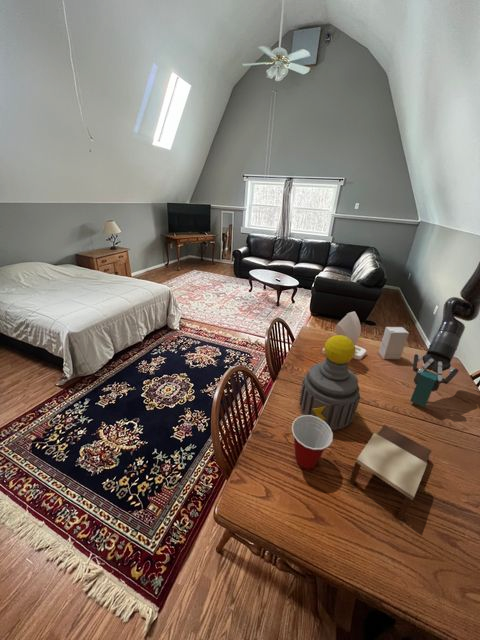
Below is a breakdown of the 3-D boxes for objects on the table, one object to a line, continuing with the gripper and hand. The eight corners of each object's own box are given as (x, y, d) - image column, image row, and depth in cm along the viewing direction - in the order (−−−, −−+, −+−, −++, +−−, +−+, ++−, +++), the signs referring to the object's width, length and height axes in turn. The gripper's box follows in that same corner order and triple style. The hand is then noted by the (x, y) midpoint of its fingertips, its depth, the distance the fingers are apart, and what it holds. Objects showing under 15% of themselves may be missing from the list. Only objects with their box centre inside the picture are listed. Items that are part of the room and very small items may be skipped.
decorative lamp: (346, 442, 83) (370, 360, 70) (289, 415, 92) (302, 339, 79) (358, 406, 97) (380, 334, 85) (308, 386, 106) (321, 318, 94)
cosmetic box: (394, 353, 133) (403, 326, 126) (400, 360, 127) (410, 332, 121) (377, 352, 133) (385, 325, 126) (383, 359, 127) (391, 331, 121)
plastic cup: (287, 475, 72) (292, 443, 67) (286, 442, 82) (291, 412, 77) (328, 481, 71) (337, 450, 66) (322, 447, 81) (329, 417, 76)
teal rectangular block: (427, 401, 99) (438, 374, 94) (424, 407, 96) (435, 380, 91) (413, 395, 102) (423, 369, 97) (410, 401, 99) (420, 374, 94)
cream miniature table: (427, 458, 79) (438, 436, 75) (402, 520, 63) (414, 497, 59) (381, 432, 87) (389, 411, 83) (349, 482, 71) (356, 458, 67)
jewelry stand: (338, 340, 143) (349, 296, 132) (368, 351, 133) (381, 305, 123) (315, 357, 126) (324, 309, 115) (347, 372, 116) (360, 320, 106)
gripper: (421, 335, 99) (402, 375, 96) (469, 350, 90) (449, 394, 87) (420, 342, 105) (402, 380, 102) (466, 357, 96) (447, 399, 93)
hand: (424, 387), depth 95 cm, fingers closed on teal rectangular block, 4 cm apart
